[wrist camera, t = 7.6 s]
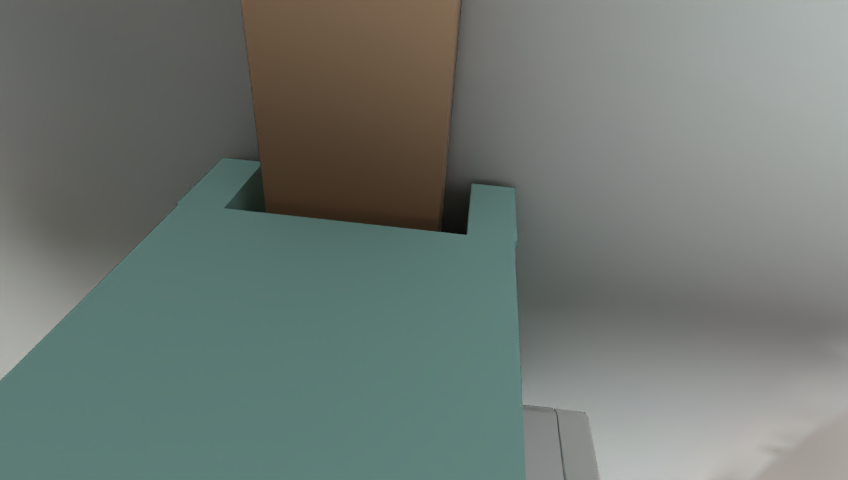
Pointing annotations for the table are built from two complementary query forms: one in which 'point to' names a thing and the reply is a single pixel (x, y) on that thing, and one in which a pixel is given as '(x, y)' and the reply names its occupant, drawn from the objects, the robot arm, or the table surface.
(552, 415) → the robot arm
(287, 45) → the rail
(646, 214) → the table surface
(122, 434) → the block
